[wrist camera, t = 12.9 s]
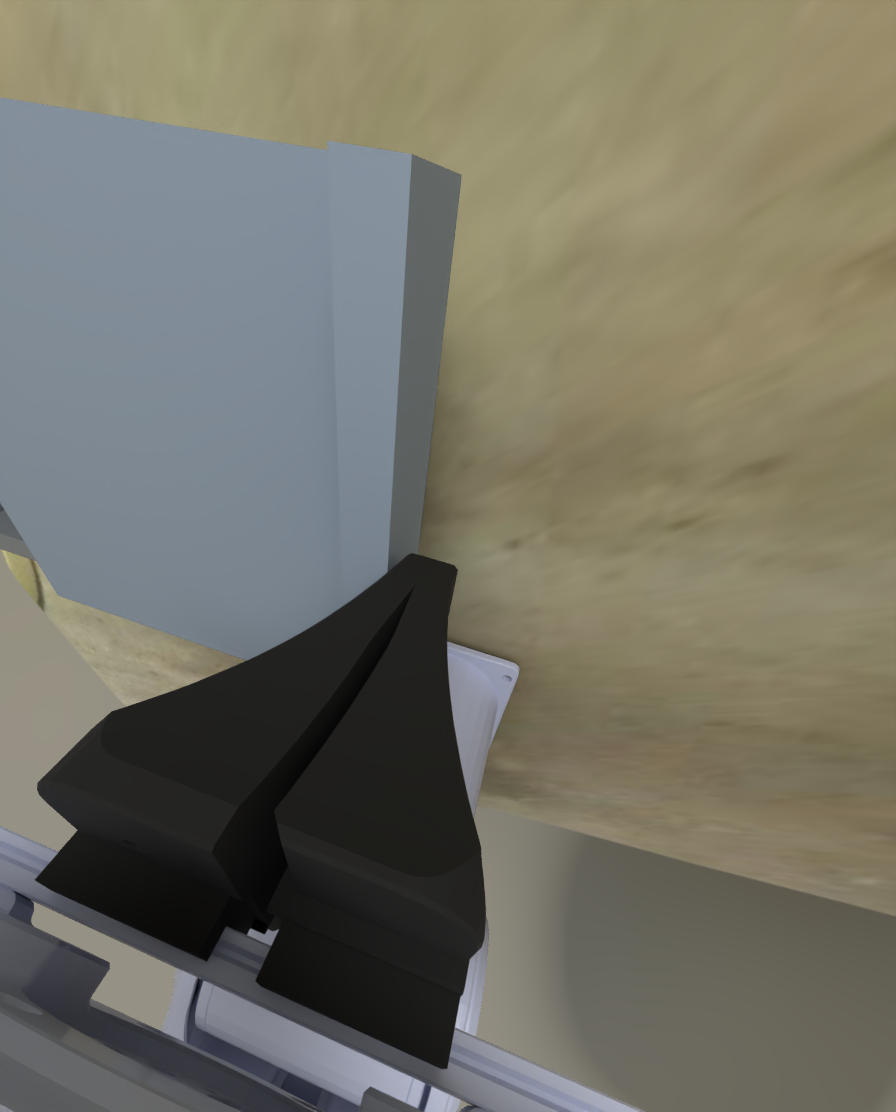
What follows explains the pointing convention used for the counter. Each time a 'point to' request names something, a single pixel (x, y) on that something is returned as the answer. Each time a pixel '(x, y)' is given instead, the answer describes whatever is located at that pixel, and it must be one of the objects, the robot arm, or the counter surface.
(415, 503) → the lid
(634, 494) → the counter surface
